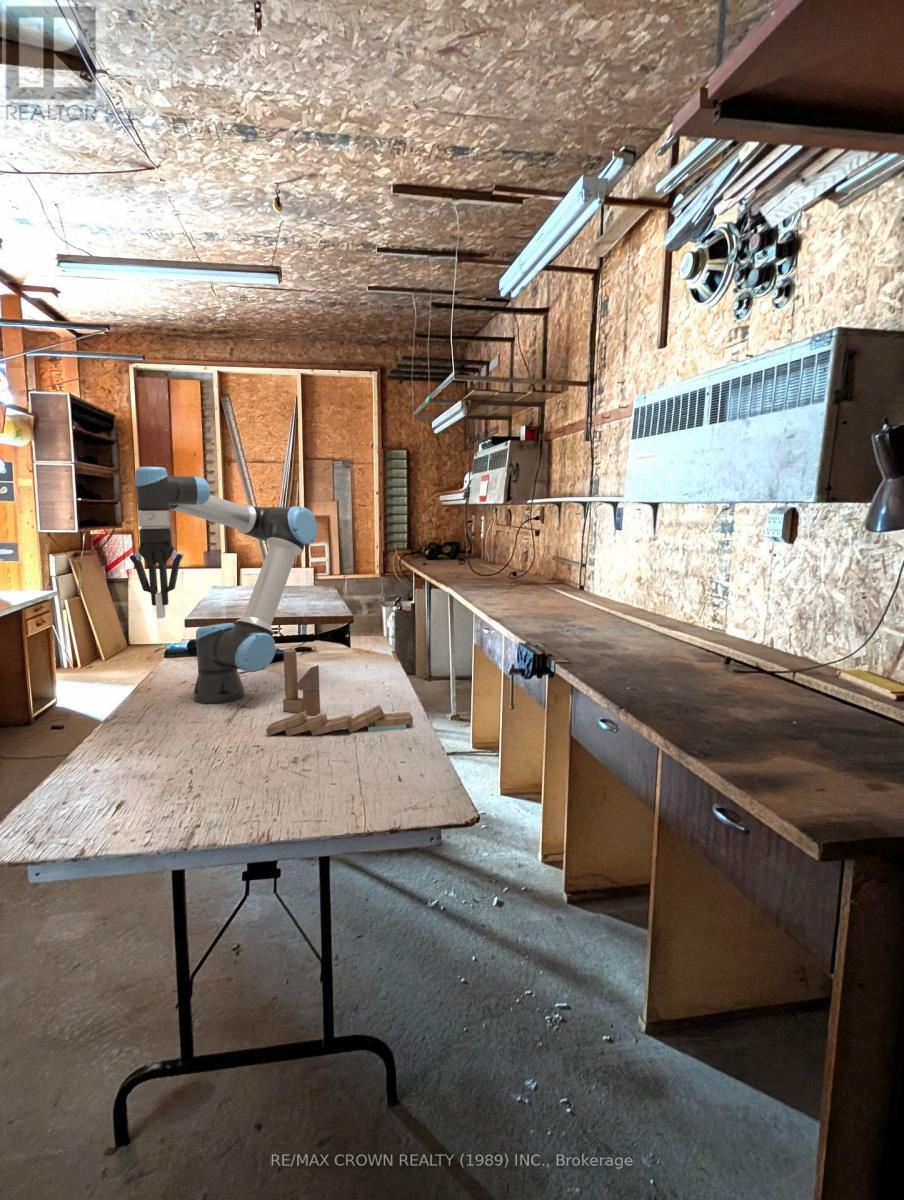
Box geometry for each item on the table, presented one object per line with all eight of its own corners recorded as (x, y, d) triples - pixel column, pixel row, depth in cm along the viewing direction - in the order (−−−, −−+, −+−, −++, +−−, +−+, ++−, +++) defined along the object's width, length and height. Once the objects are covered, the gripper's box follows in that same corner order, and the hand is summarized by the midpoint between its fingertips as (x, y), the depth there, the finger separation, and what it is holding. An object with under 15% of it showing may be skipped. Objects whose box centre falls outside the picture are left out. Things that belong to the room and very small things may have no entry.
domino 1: (270, 723, 174) (305, 710, 174) (273, 729, 174) (307, 716, 174) (265, 729, 169) (301, 716, 169) (268, 735, 169) (304, 722, 169)
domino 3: (314, 723, 174) (350, 714, 174) (315, 729, 175) (352, 720, 175) (310, 729, 169) (348, 720, 169) (312, 735, 170) (349, 726, 170)
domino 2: (290, 723, 174) (325, 713, 174) (292, 729, 174) (327, 719, 174) (285, 730, 169) (321, 719, 169) (287, 736, 169) (323, 725, 169)
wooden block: (313, 716, 186) (310, 654, 183) (282, 711, 190) (280, 651, 188) (320, 712, 189) (318, 651, 187) (290, 708, 194) (288, 648, 191)
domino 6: (373, 714, 177) (409, 711, 180) (373, 721, 178) (409, 718, 180) (375, 720, 173) (412, 717, 175) (375, 727, 173) (412, 723, 175)
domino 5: (367, 721, 177) (403, 719, 179) (367, 728, 178) (404, 725, 179) (368, 727, 172) (406, 724, 174) (368, 734, 173) (406, 731, 175)
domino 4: (346, 721, 176) (379, 704, 178) (348, 727, 176) (382, 710, 178) (347, 727, 171) (382, 709, 173) (350, 733, 171) (384, 715, 173)
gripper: (123, 528, 164) (130, 620, 167) (178, 527, 166) (184, 619, 170) (132, 527, 171) (138, 616, 175) (184, 526, 174) (190, 614, 177)
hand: (161, 617), depth 172 cm, fingers closed
